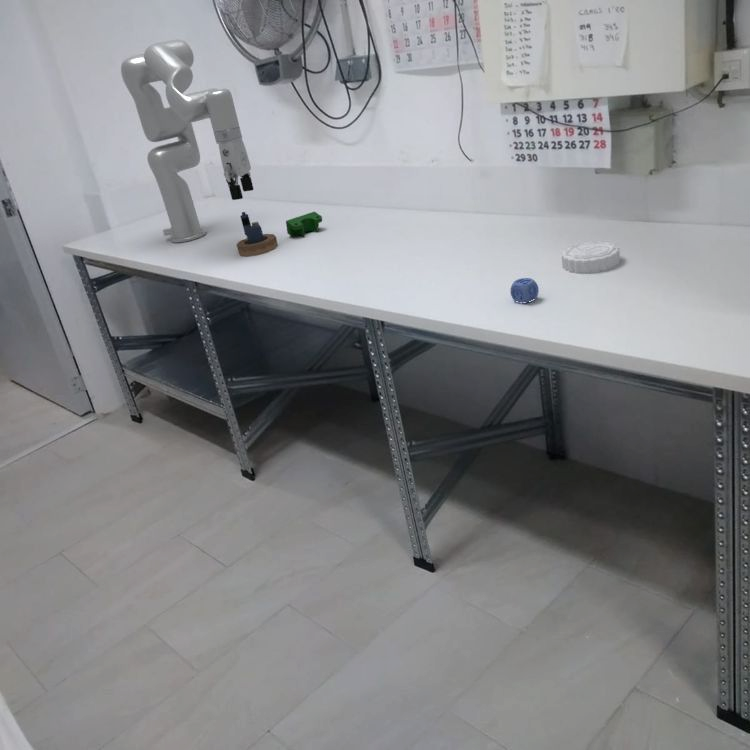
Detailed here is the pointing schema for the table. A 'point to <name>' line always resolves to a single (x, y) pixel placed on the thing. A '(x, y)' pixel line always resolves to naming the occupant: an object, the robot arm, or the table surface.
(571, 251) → the mooncake
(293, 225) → the clamp
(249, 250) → the wooden ring
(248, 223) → the vaping device
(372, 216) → the table surface
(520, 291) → the decorative dice
